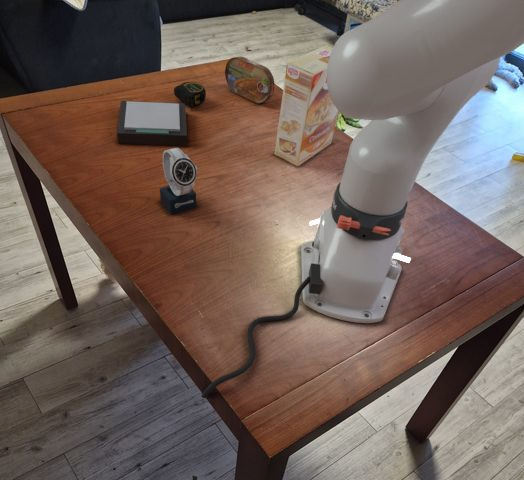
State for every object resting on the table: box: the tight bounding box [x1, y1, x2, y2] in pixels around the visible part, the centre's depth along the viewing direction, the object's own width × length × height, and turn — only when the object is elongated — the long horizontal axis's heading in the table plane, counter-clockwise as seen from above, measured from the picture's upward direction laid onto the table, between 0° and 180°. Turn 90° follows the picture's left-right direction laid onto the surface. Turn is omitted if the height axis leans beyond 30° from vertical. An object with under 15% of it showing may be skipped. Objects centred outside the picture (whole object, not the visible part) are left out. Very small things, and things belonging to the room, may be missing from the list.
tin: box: [224, 56, 275, 104], centre depth 121 cm, size 15×3×8 cm, turn 50°
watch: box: [159, 147, 199, 215], centre depth 88 cm, size 6×8×11 cm
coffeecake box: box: [273, 44, 340, 167], centre depth 103 cm, size 15×7×20 cm, turn 143°
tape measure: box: [173, 81, 207, 108], centre depth 117 cm, size 7×7×4 cm
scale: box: [116, 100, 188, 147], centre depth 108 cm, size 15×15×3 cm
